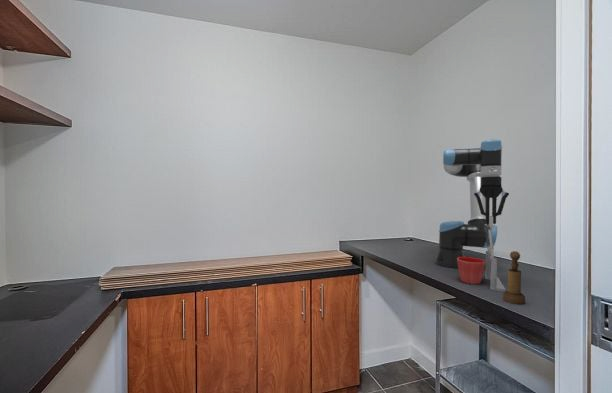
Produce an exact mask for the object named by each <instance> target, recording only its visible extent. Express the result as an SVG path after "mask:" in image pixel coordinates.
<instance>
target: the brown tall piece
mask: <svg viewBox="0 0 612 393" xmlns="http://www.w3.org/2000/svg"><path fill="white" fill-rule="evenodd" d="M509 257H510V259H511V260H512V261H511V263H510V266H511V268H509V269H508V270H507V289H506V291H505V292H502V300H503V301H505V302H506V303H507V302H508V303H510V304H515V305H524V304H526V296H525V295H524V294H523V293H522V291H521V287H522V284H521V282H522V271H521V270H520V269H519V268H518V267H519V263H518V260H519V259H520V258H521V254H520V252H518V251H514V250H513V251H511V252H510V253H509Z"/></svg>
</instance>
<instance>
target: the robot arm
mask: <svg viewBox="0 0 612 393" xmlns="http://www.w3.org/2000/svg"><path fill="white" fill-rule="evenodd" d="M502 150H503V146H502V140H500V139H497V138H494V139H492V138H491V139H484V140H482V141H481V144H480V147H478V148H477V147H476V148H455V149H453V148H449V149H444V150H443V152H442V153H443V154H442V158H443V159H442V162H443V163H442V164H443V169H444V171H445V172H446V173H447V174H448V175H451V176H454V177H459V178H460V177H464V178H465V177H466V180H467V182H469V197H470V198H469V199H470V200H469V201H470V202H469V204H470V219H469V220H468V221H467V223H464V221H463V220H451V221H450V220H449V221H444V222H441V223H440V224H439V230H438V233H439V234H438V235H439V237H438V238H439V239H438V242H439V243H438V251H437V254H436V256H435V261H434V263H435V265H438V266H442V267H445V268H453V269H458V262H457V258H458V257H466V256H465V253H464V247H470V248H483V249H487V242H486V234H485V227H484V224H487V225H488V226H489V227H490V228H491V237H492V245H493V248H495V245H496V242H497V236H498V226H497V225H496V224H497V216H501V215H502V214H503V210H504V206H505V203H506V200H507V198H508V196H509V195H510V193H509V192H506V191H505V190H504V189H503V187H502ZM499 196H501V198H500V202H499V205H498V208H497V199H498V197H499ZM490 200H491V215H490Z"/></svg>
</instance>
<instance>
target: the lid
mask: <svg viewBox="0 0 612 393" xmlns="http://www.w3.org/2000/svg"><path fill="white" fill-rule="evenodd" d="M484 227H485V234H486V242H487V248H486V249H487V250H486V251H488V254H487V255H488V256H489V258H490V259H491V258H495V255H494V254H495V253H494V248H495V247H493V245H492V237H491V228H490V227H489V226H488V225H487V224H484Z"/></svg>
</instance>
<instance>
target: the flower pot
mask: <svg viewBox="0 0 612 393" xmlns="http://www.w3.org/2000/svg"><path fill="white" fill-rule="evenodd" d="M457 262H458V268H457V269H458V273H459V279H460V281H461V282H463V283H465V282H466V283H465V284H469V283H471V284H470V285H479V284H481V282H482V278H483V274H484V272H485V271H484V270H485V268H486V260H484V259H481V258H479V257H478V258H477V257H471V256H465V257H458V258H457Z"/></svg>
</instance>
